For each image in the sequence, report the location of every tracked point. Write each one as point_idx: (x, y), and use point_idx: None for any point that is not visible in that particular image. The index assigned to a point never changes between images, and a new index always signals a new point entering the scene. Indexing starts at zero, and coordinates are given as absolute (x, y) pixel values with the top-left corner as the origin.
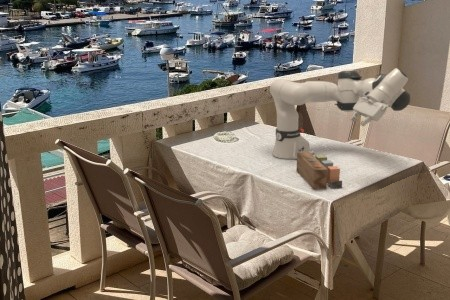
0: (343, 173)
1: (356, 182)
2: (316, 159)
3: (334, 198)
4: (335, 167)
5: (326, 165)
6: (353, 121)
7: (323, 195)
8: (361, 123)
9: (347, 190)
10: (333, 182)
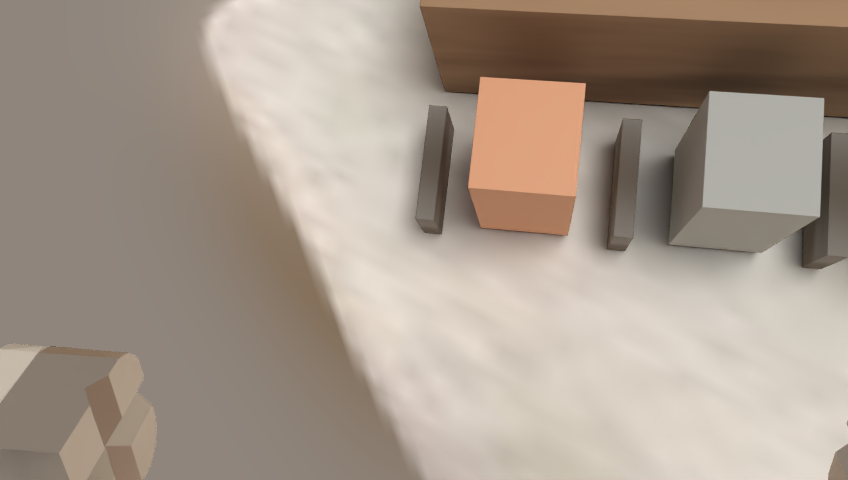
0: None
1: (534, 448)
2: (813, 17)
3: (231, 72)
4: (528, 159)
5: (702, 131)
6: (838, 461)
7: (317, 13)
8: (17, 350)
9: (361, 257)
10: (427, 132)
